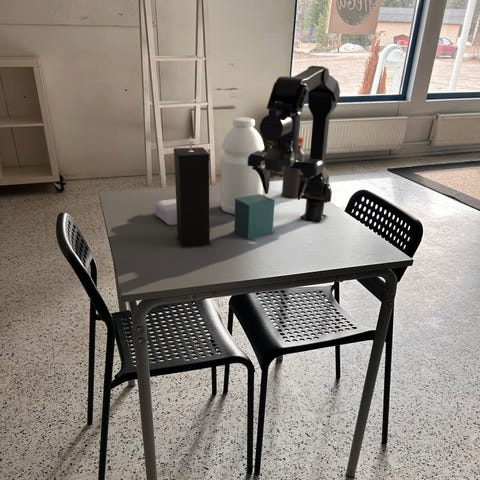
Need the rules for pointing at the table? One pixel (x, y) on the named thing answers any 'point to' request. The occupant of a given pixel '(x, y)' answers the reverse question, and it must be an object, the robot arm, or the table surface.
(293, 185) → the bottle
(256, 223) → the teal box
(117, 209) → the table surface
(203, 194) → the tall black block
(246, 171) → the bottle
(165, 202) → the charger
